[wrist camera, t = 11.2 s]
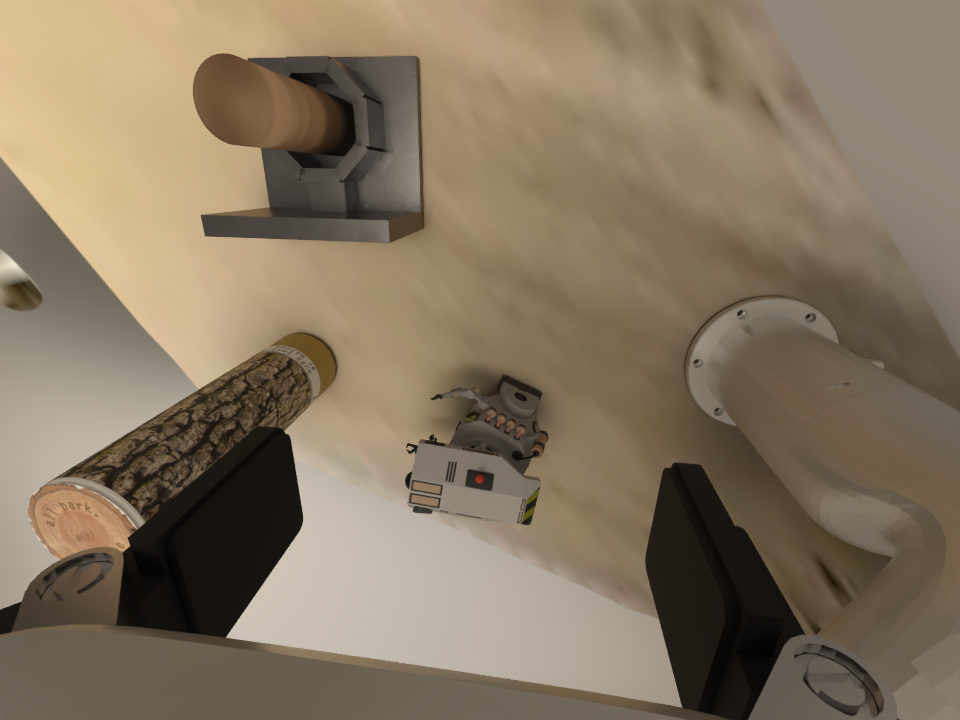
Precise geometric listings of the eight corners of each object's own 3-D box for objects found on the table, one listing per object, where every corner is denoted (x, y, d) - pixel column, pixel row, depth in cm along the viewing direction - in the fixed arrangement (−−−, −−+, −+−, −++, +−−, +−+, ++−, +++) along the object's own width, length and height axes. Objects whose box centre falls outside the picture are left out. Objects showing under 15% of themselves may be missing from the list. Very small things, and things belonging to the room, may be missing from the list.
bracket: (423, 228, 41) (389, 242, 31) (278, 223, 42) (205, 236, 33) (419, 59, 36) (376, 18, 27) (254, 61, 37) (161, 22, 28)
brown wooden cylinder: (360, 97, 36) (261, 52, 24) (364, 156, 38) (275, 145, 25) (308, 97, 37) (184, 54, 24) (315, 156, 39) (202, 144, 26)
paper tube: (266, 338, 47) (3, 490, 24) (325, 325, 46) (104, 475, 23) (291, 395, 49) (71, 585, 26) (347, 385, 48) (167, 576, 25)
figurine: (452, 349, 45) (412, 424, 31) (555, 397, 45) (561, 493, 32) (419, 419, 48) (371, 515, 35) (515, 463, 49) (505, 575, 35)
